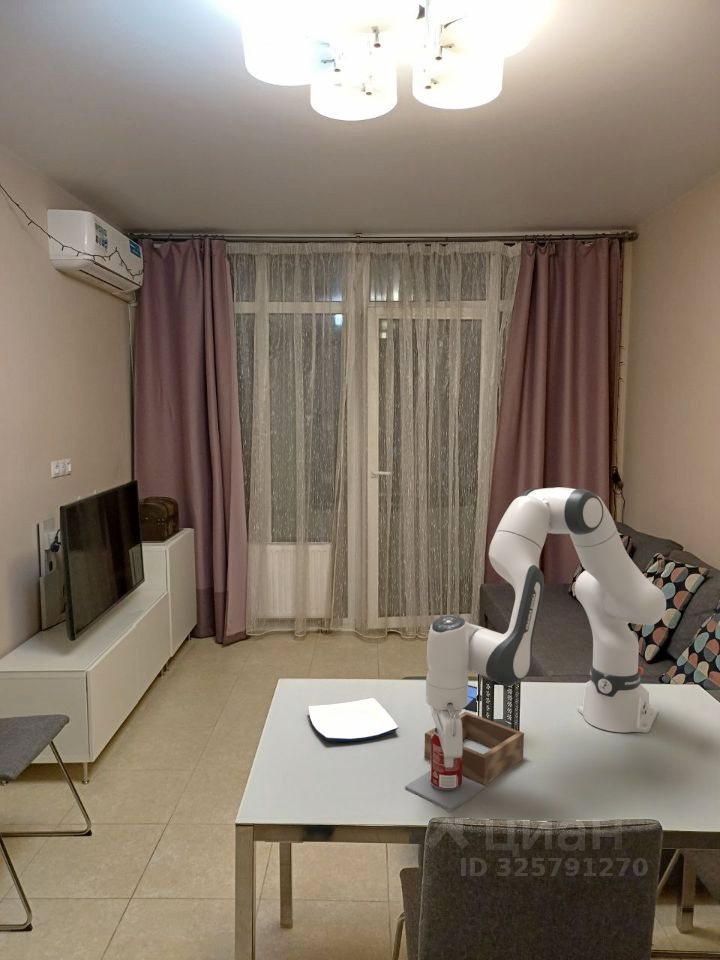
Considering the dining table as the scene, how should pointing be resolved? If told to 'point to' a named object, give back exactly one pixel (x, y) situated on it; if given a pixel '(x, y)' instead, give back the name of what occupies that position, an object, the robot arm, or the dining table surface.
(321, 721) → the plate
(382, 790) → the dining table surface
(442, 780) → the soda can
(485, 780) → the box
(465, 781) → the mat
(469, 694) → the game console
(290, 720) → the dining table surface
